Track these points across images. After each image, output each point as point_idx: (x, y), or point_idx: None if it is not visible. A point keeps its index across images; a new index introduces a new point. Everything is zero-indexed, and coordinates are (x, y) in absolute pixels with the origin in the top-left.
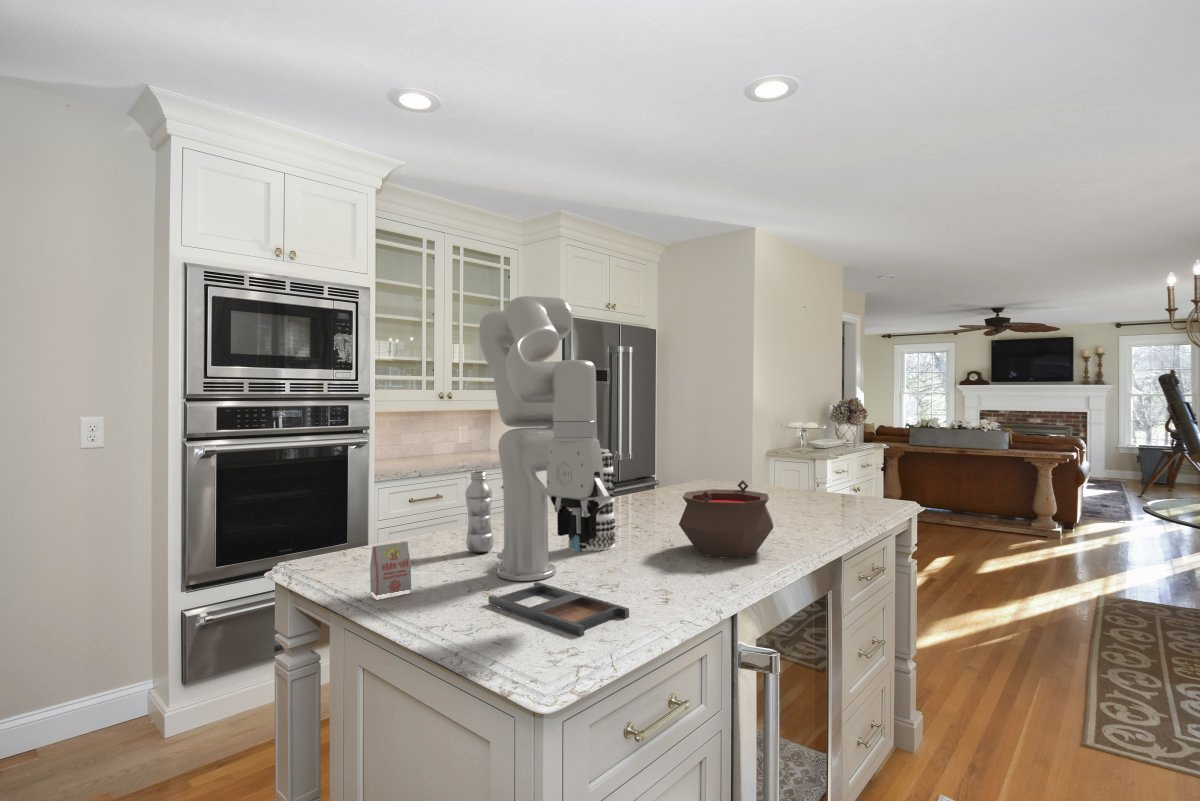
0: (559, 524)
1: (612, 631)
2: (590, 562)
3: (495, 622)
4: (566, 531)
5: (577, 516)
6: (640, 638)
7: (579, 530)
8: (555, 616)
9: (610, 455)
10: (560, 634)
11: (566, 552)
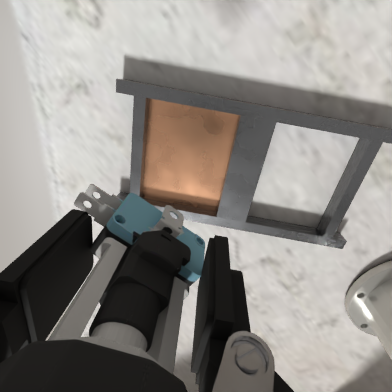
0: (215, 266)
1: (98, 133)
2: (316, 363)
3: (321, 46)
4: (203, 267)
5: (75, 303)
6: (44, 130)
7: (104, 251)
8: (195, 105)
9: None
10: (160, 69)
11: (379, 387)
